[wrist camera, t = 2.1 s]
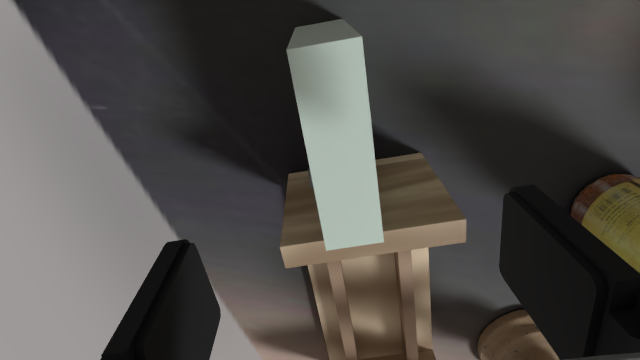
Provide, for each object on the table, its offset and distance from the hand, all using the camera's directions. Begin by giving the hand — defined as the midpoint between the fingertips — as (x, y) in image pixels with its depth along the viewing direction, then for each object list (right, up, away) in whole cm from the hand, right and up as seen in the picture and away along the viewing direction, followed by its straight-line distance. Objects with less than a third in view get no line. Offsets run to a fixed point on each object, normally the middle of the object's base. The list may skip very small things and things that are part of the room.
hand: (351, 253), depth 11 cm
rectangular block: (0, +8, +14) cm, 16 cm away
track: (+3, -6, +22) cm, 23 cm away
